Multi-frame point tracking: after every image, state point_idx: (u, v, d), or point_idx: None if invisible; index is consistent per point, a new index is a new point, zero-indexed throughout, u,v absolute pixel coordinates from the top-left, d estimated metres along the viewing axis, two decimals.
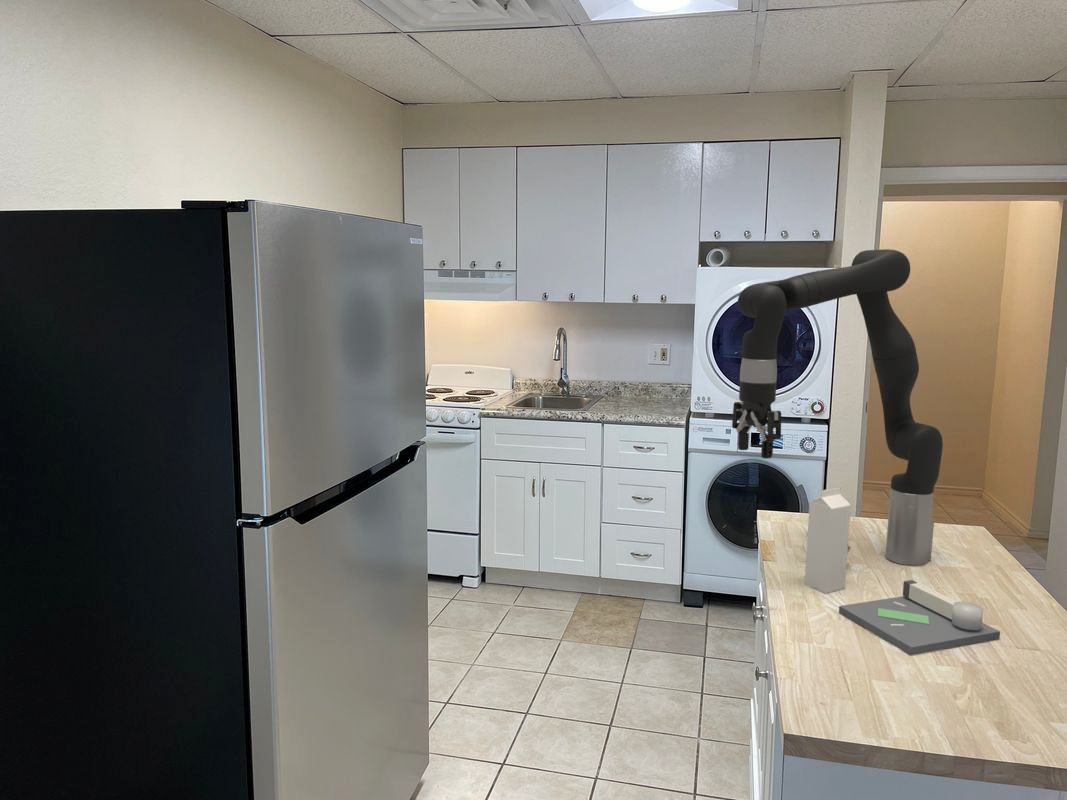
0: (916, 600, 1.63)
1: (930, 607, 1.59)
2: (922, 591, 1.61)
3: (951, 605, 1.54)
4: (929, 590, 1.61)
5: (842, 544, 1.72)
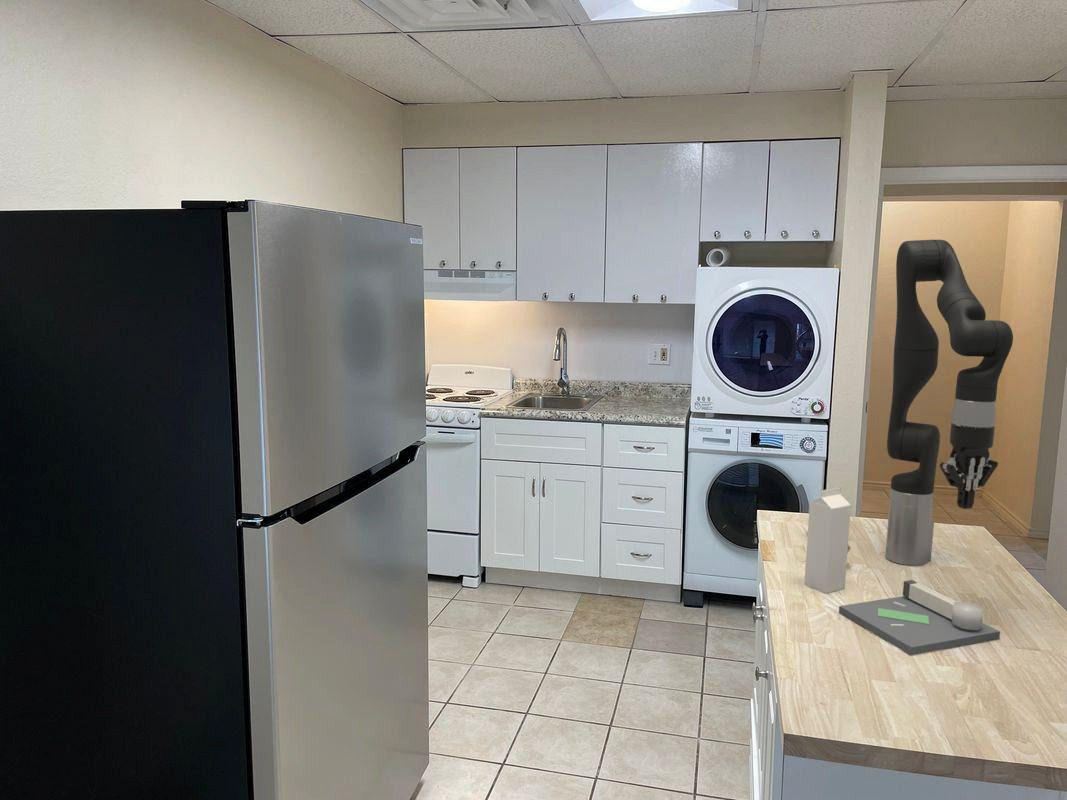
0: (916, 600, 1.63)
1: (930, 607, 1.59)
2: (922, 591, 1.61)
3: (951, 605, 1.54)
4: (929, 590, 1.61)
5: (842, 544, 1.72)
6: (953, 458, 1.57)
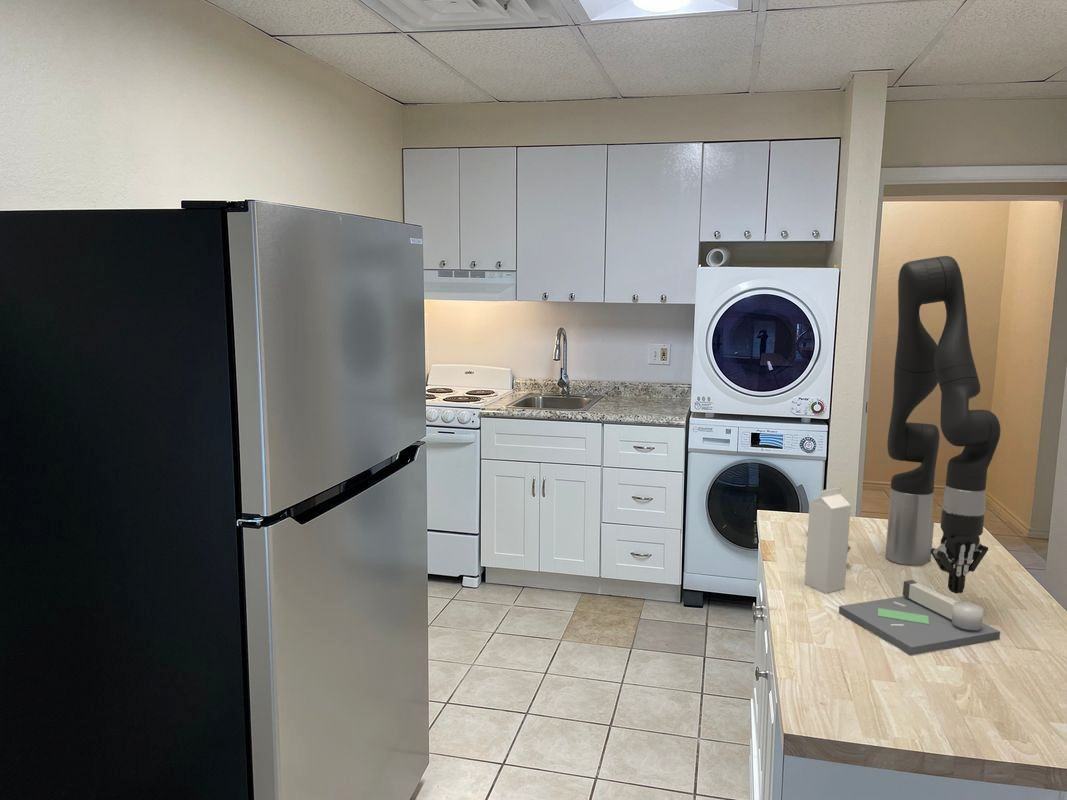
0: (916, 600, 1.63)
1: (930, 607, 1.59)
2: (922, 591, 1.61)
3: (951, 605, 1.54)
4: (929, 590, 1.61)
5: (842, 544, 1.72)
6: (943, 544, 1.59)
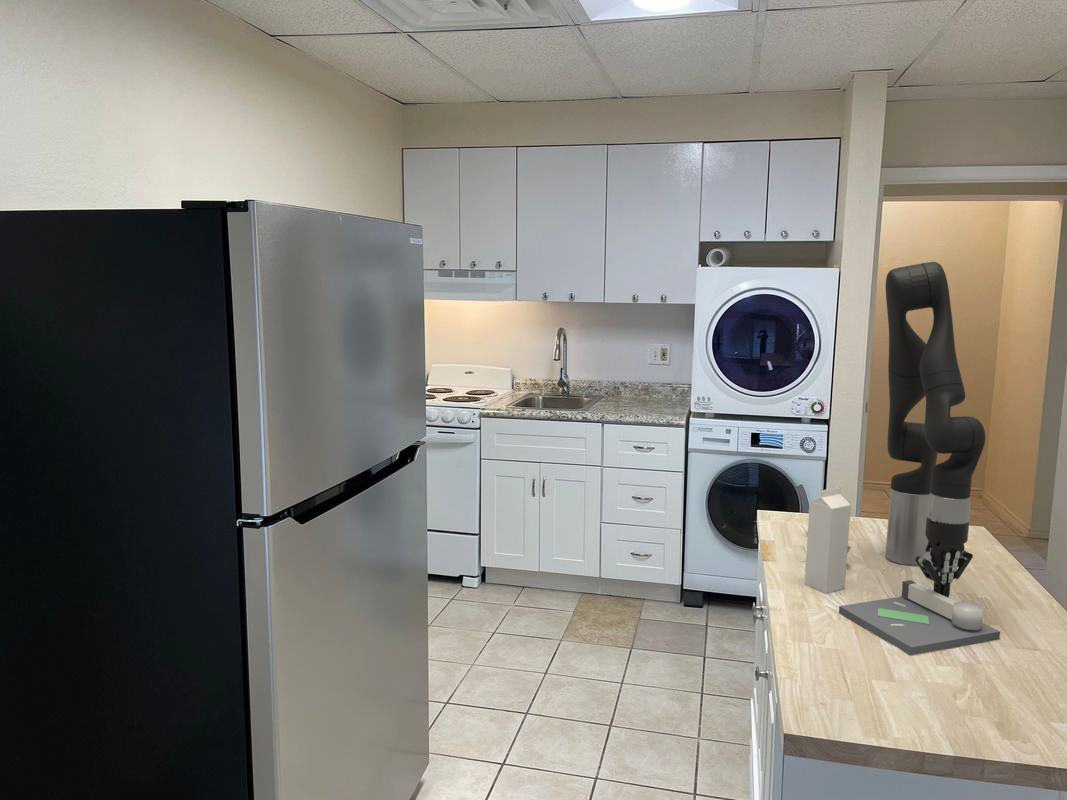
0: (915, 600, 1.62)
1: (929, 607, 1.59)
2: (921, 591, 1.61)
3: (951, 605, 1.54)
4: (928, 590, 1.61)
5: (842, 544, 1.72)
6: (928, 552, 1.58)
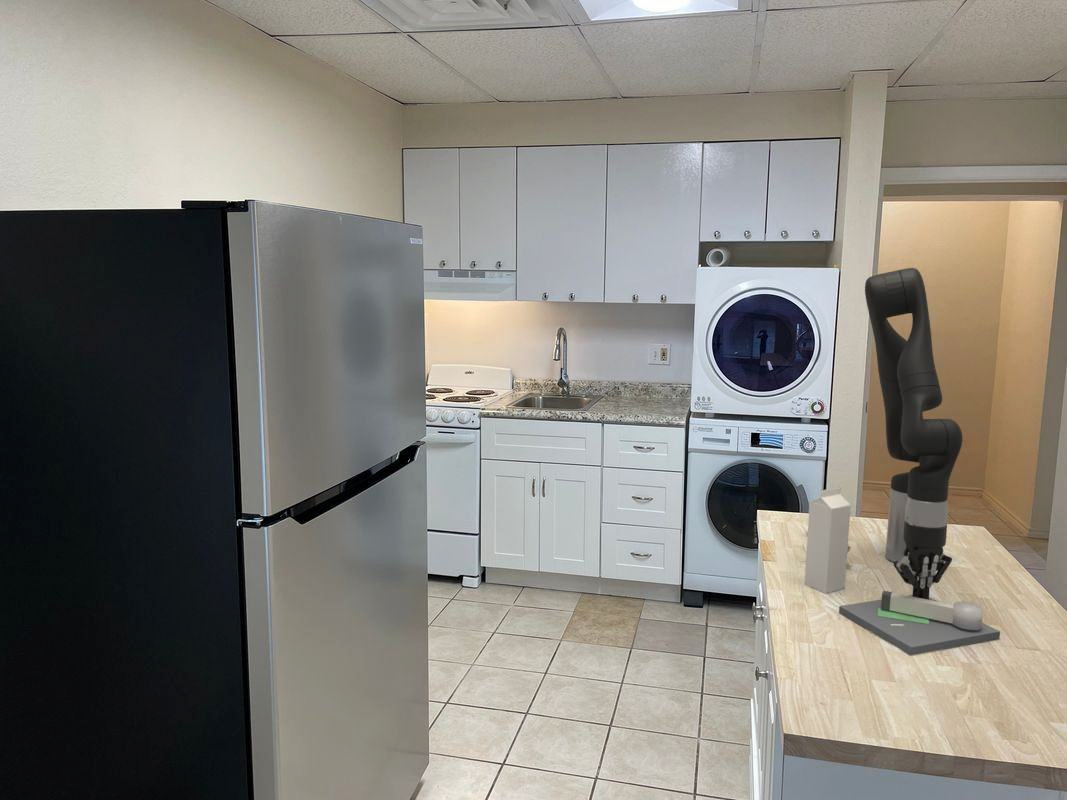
0: (900, 611, 1.57)
1: (921, 615, 1.55)
2: (909, 600, 1.56)
3: (950, 609, 1.53)
4: (912, 597, 1.57)
5: (842, 544, 1.72)
6: (906, 557, 1.56)
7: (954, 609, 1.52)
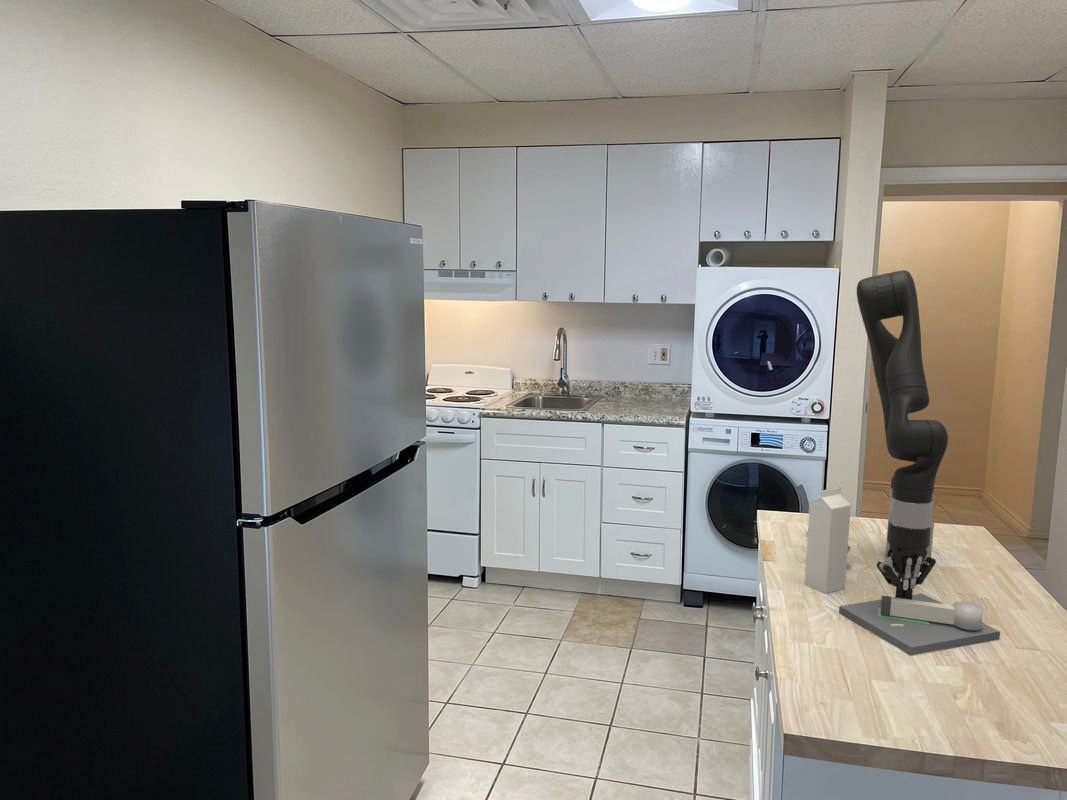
0: (901, 615, 1.55)
1: (922, 618, 1.54)
2: (909, 604, 1.55)
3: (951, 610, 1.52)
4: (912, 601, 1.55)
5: (842, 544, 1.72)
6: (890, 558, 1.55)
7: (955, 610, 1.51)
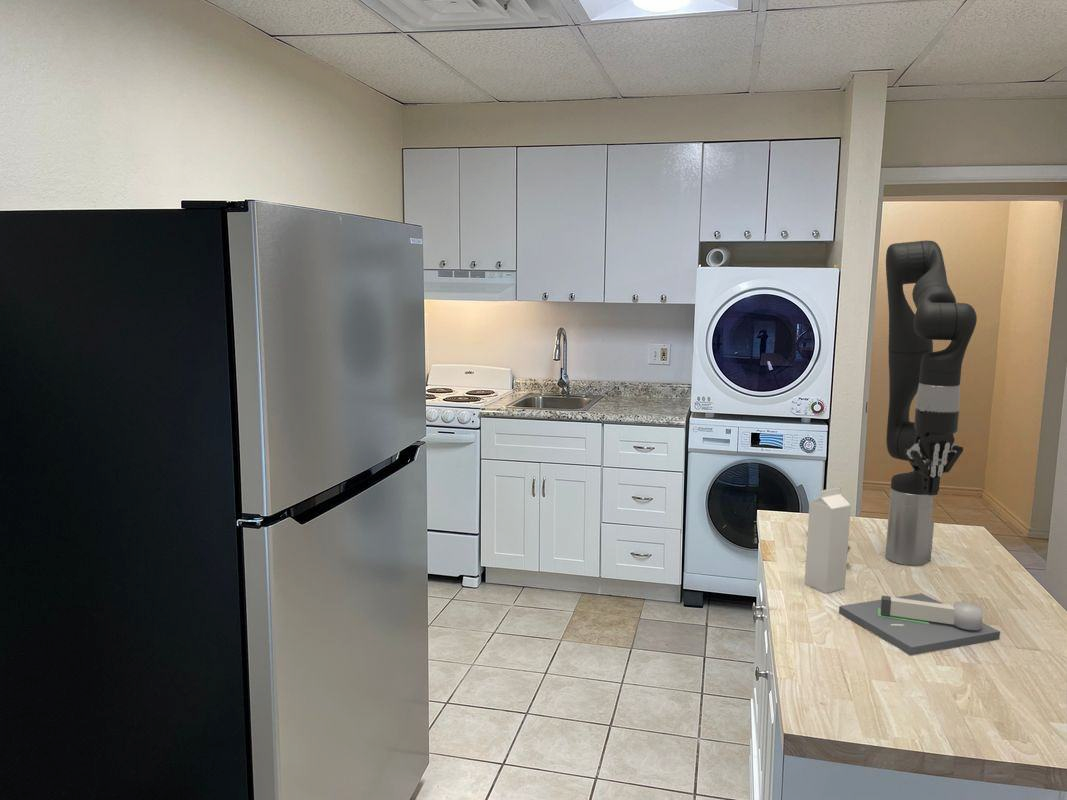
0: (901, 615, 1.55)
1: (922, 618, 1.54)
2: (909, 604, 1.55)
3: (951, 610, 1.52)
4: (912, 601, 1.55)
5: (842, 544, 1.72)
6: (917, 444, 1.54)
7: (955, 610, 1.51)
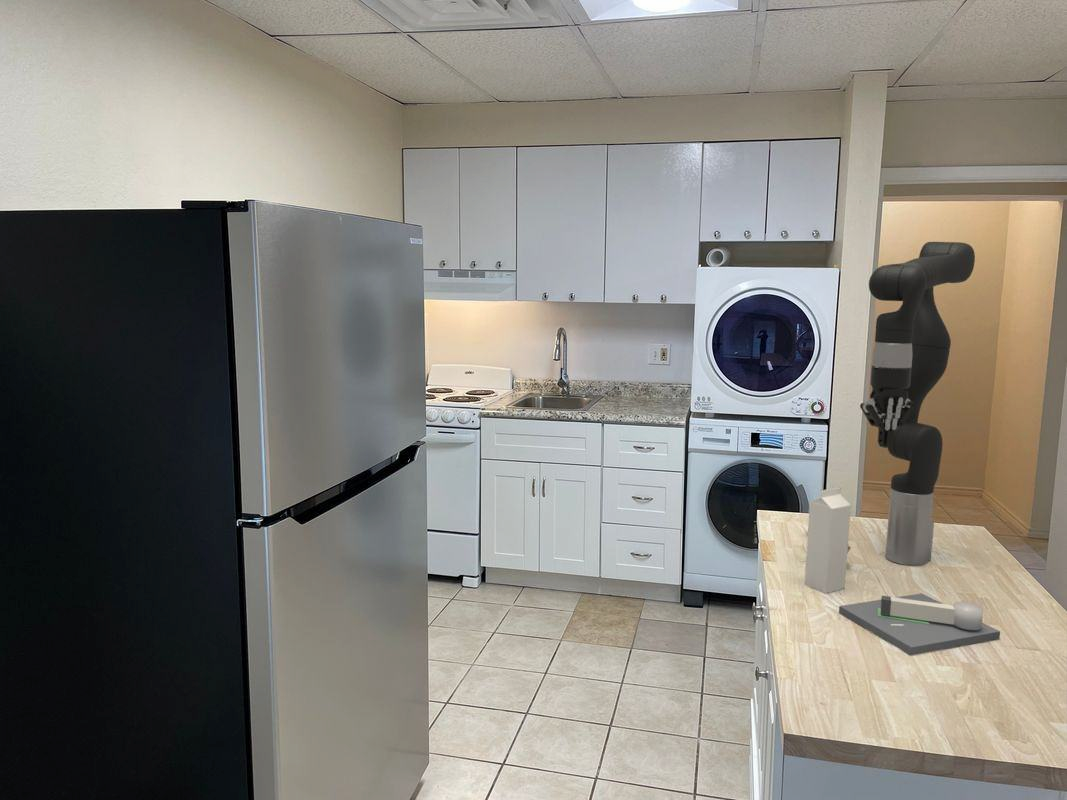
0: (901, 615, 1.55)
1: (922, 618, 1.54)
2: (909, 604, 1.55)
3: (951, 610, 1.52)
4: (912, 601, 1.55)
5: (842, 544, 1.72)
6: (872, 398, 1.64)
7: (955, 610, 1.51)
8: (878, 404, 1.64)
